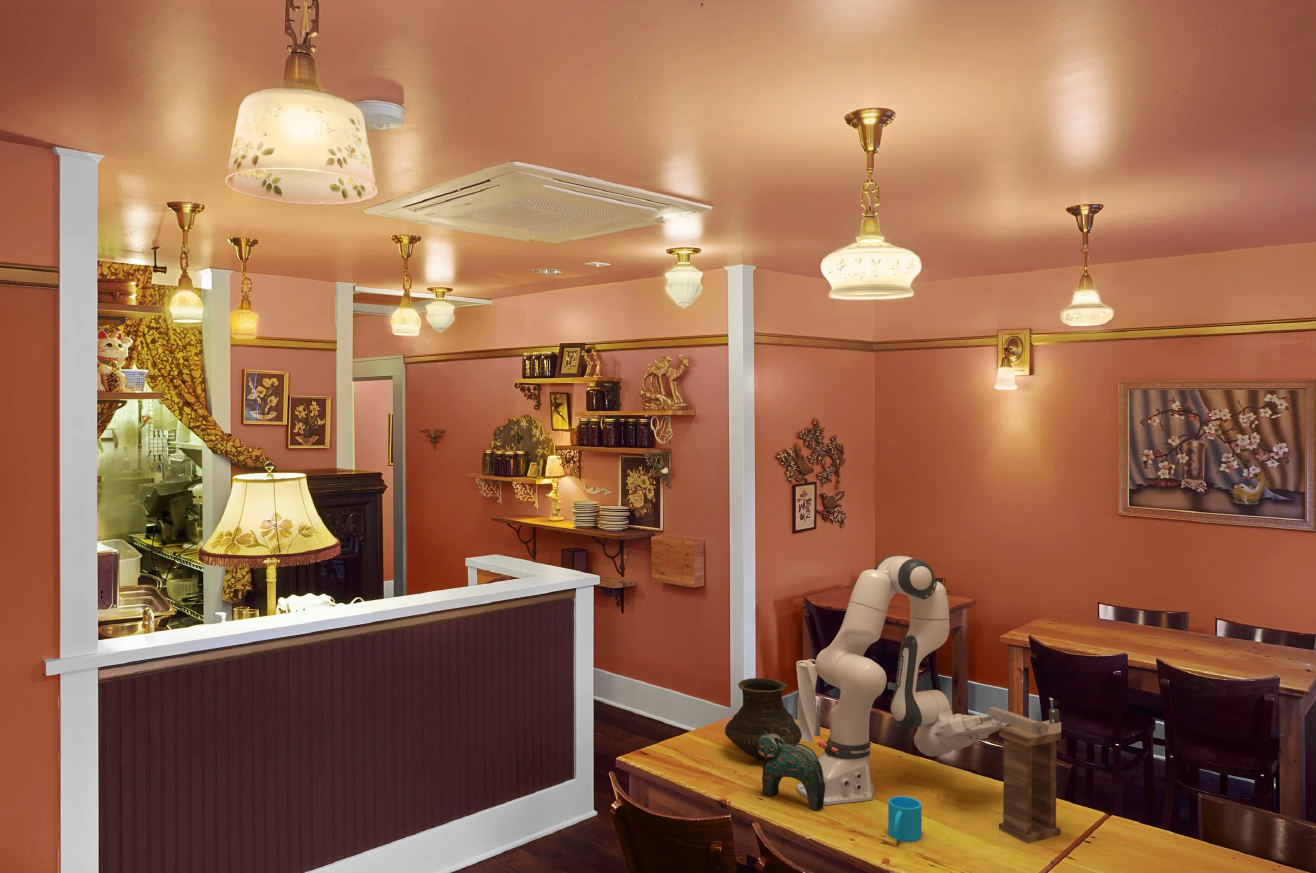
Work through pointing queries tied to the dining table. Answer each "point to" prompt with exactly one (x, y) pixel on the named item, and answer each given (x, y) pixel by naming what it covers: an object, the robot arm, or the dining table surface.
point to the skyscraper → (807, 700)
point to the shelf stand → (1029, 785)
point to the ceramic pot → (761, 716)
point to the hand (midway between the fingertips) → (993, 718)
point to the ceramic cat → (791, 767)
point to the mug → (905, 819)
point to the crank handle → (1028, 721)
